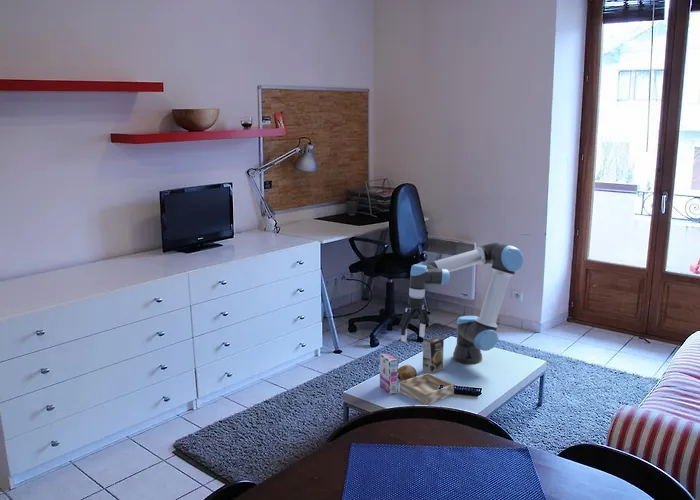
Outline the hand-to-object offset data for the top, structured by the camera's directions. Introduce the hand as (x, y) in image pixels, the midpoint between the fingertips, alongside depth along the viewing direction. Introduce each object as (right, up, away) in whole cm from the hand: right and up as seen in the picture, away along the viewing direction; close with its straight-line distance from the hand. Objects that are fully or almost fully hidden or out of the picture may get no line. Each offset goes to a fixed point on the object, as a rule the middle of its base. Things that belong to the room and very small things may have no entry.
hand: (412, 339), depth 299 cm
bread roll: (-3, -20, +5) cm, 21 cm away
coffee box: (+12, -18, +14) cm, 26 cm away
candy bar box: (-12, -23, -9) cm, 27 cm away
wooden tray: (+5, -23, -14) cm, 27 cm away
